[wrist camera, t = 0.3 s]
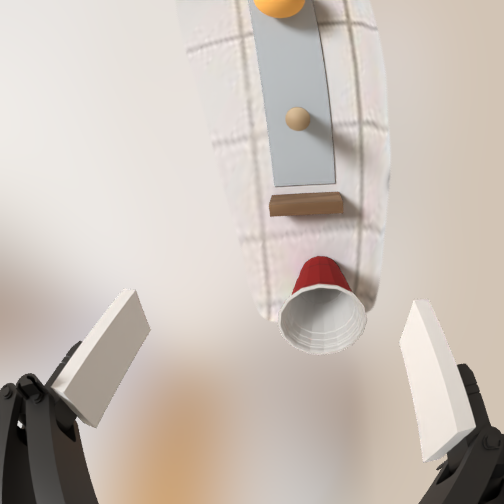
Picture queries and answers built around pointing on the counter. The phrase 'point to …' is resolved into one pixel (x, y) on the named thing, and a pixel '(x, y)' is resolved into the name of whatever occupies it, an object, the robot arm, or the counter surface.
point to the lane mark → (294, 95)
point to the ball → (279, 7)
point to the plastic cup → (321, 310)
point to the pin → (297, 119)
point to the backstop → (306, 204)
